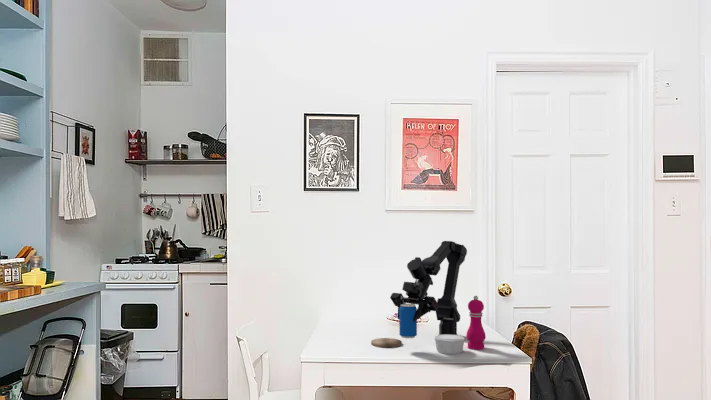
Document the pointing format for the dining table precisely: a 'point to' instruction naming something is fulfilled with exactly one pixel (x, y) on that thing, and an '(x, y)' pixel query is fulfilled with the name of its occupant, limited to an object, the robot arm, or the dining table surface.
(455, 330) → the robot arm
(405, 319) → the beverage can
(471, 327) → the pepper mill
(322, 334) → the dining table surface
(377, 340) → the walnut coaster
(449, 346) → the ramekin
